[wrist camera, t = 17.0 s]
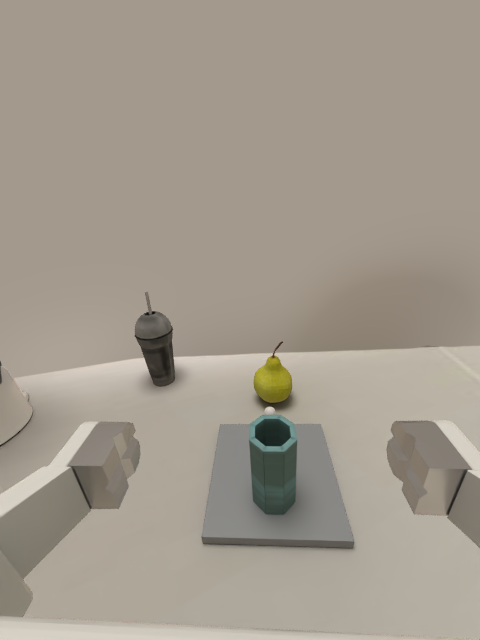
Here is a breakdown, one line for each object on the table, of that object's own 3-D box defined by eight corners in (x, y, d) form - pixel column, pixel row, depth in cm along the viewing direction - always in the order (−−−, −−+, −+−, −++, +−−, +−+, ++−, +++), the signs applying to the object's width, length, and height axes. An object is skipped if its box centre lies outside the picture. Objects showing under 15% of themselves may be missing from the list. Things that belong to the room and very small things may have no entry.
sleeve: (252, 514, 31) (248, 451, 27) (253, 473, 35) (249, 414, 31) (297, 515, 30) (299, 451, 26) (291, 474, 35) (293, 414, 31)
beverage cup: (176, 366, 62) (161, 282, 54) (185, 383, 56) (169, 291, 48) (144, 376, 60) (122, 289, 52) (149, 394, 54) (126, 299, 46)
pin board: (202, 543, 30) (194, 501, 27) (220, 429, 44) (216, 394, 41) (353, 548, 28) (361, 504, 25) (320, 429, 43) (323, 393, 40)
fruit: (253, 410, 48) (249, 351, 43) (255, 386, 54) (253, 332, 49) (292, 412, 47) (293, 352, 42) (290, 387, 53) (291, 332, 48)
